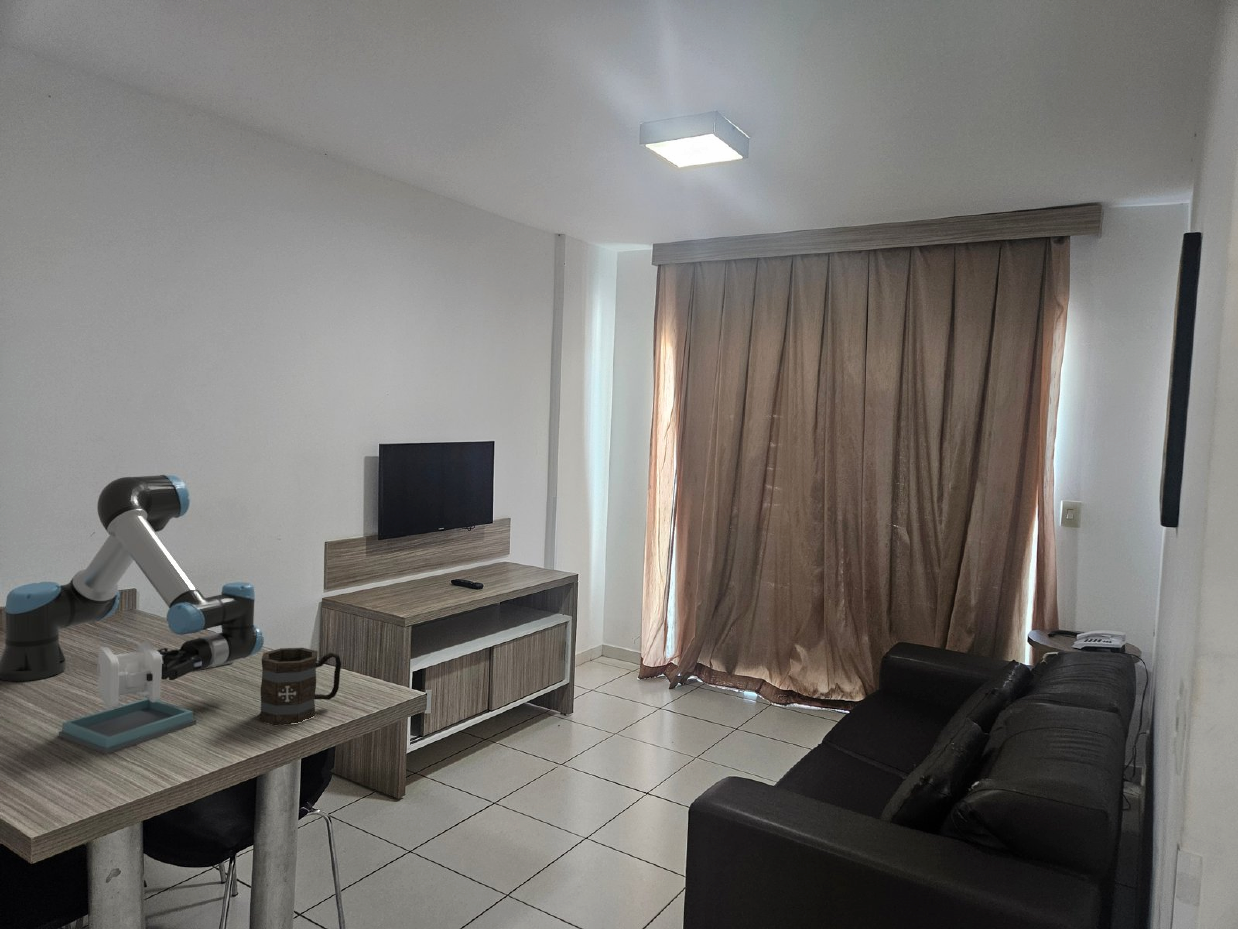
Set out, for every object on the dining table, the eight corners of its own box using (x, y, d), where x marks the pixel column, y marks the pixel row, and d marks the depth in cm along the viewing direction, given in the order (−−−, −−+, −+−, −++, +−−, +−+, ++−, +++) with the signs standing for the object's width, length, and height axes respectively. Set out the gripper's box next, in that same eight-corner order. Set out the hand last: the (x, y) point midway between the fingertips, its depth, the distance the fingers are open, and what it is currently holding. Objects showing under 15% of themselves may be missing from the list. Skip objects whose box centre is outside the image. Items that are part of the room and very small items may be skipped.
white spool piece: (95, 694, 186) (96, 644, 186) (147, 686, 193) (148, 638, 193) (109, 714, 175) (110, 661, 175) (163, 705, 182) (165, 654, 182)
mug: (268, 730, 189) (271, 667, 189) (249, 712, 199) (252, 652, 199) (350, 713, 202) (352, 654, 202) (328, 697, 213) (330, 641, 212)
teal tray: (58, 736, 179) (58, 723, 179) (150, 708, 198) (150, 696, 198) (105, 754, 172) (105, 740, 171) (196, 723, 190) (196, 711, 190)
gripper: (235, 676, 195) (147, 703, 175) (172, 659, 205) (82, 682, 186) (236, 646, 195) (148, 669, 175) (172, 630, 205) (82, 649, 185)
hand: (114, 675), depth 180 cm, fingers closed on white spool piece, 11 cm apart
